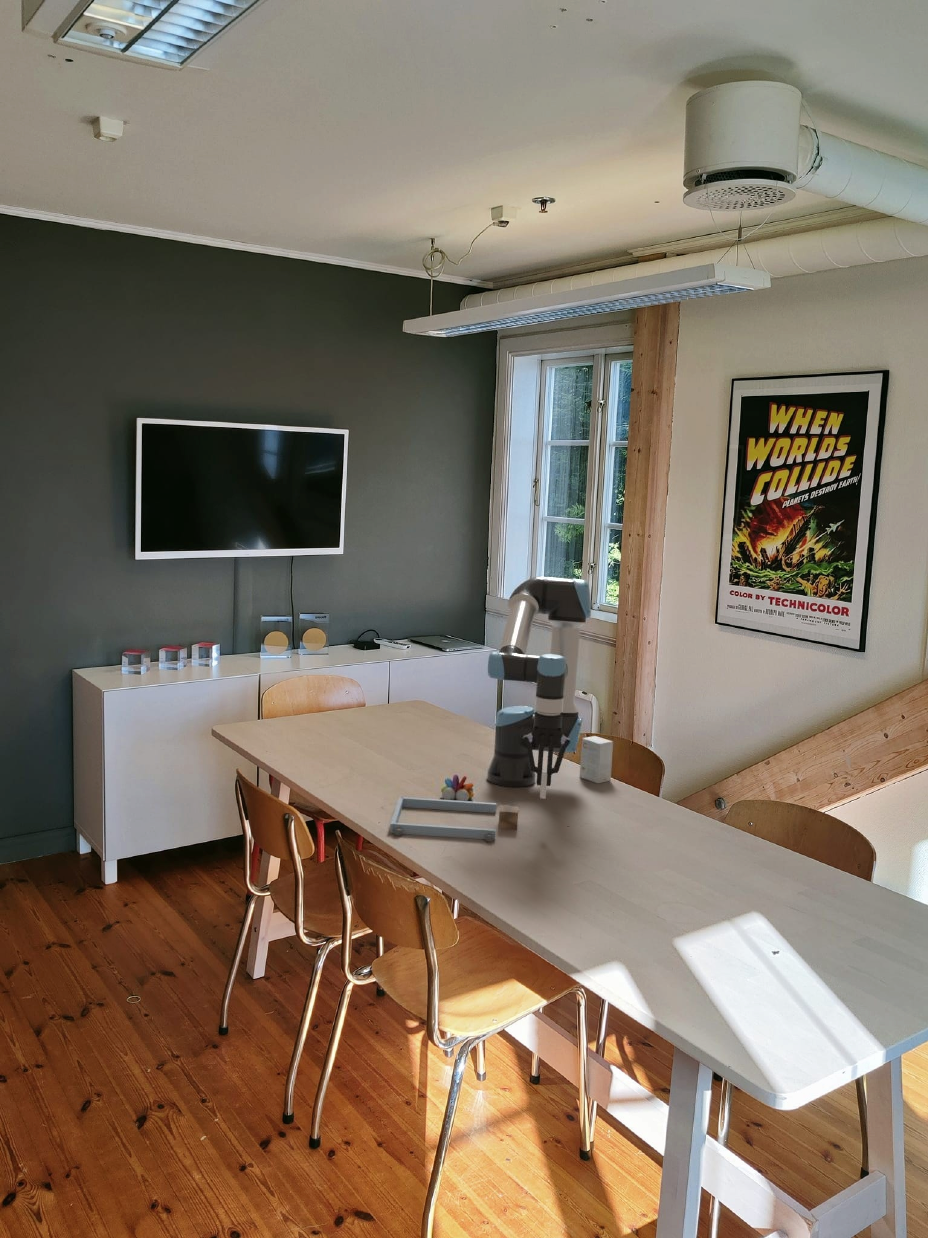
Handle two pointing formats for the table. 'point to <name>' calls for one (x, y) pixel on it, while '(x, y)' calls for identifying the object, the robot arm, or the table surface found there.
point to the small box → (596, 759)
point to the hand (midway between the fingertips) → (542, 796)
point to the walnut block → (508, 817)
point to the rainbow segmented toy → (457, 789)
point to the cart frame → (442, 830)
